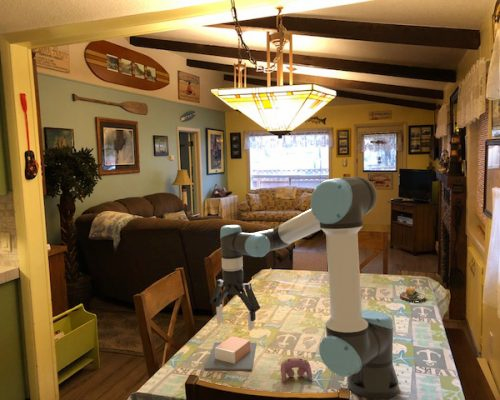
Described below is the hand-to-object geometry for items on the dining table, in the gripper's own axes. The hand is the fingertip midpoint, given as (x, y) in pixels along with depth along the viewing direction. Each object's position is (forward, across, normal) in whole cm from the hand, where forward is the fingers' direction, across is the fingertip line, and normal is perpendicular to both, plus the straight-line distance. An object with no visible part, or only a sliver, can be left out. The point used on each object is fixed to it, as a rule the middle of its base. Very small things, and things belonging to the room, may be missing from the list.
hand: (235, 326), depth 151 cm
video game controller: (+12, -26, +4) cm, 29 cm away
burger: (+12, -43, -91) cm, 102 cm away
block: (+8, 0, -4) cm, 9 cm away
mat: (+10, +1, +2) cm, 11 cm away
